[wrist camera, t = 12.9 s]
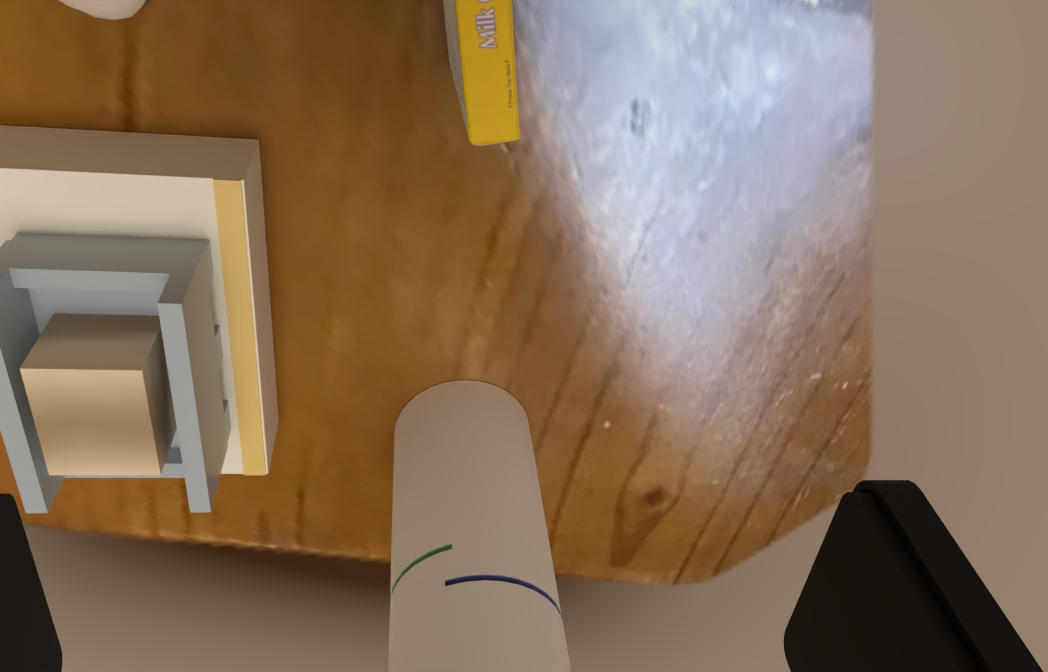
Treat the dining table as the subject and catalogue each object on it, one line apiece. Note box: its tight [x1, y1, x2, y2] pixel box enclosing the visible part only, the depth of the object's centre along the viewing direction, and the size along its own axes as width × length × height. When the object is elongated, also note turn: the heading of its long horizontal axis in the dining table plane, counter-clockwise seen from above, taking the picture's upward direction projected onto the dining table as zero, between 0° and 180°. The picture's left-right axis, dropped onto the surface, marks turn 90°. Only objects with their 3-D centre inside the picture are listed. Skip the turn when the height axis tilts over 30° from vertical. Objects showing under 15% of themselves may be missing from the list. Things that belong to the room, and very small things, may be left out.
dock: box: [0, 125, 279, 475], centre depth 38 cm, size 15×10×4 cm, turn 174°
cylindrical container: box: [389, 380, 571, 672], centre depth 36 cm, size 7×7×25 cm
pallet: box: [0, 232, 231, 513], centre depth 34 cm, size 10×7×5 cm
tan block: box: [20, 313, 177, 475], centre depth 33 cm, size 5×4×4 cm
